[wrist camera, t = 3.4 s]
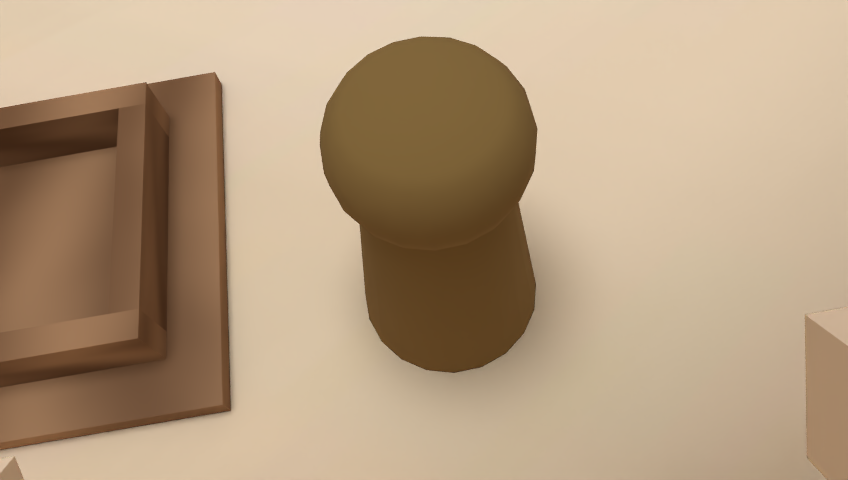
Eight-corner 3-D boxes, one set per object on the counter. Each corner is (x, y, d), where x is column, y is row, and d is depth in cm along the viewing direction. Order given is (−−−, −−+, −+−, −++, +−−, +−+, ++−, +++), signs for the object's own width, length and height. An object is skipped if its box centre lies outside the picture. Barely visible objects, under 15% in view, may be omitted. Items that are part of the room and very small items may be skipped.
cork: (427, 187, 28) (389, -38, 18) (567, 264, 26) (611, 59, 16) (331, 314, 26) (231, 138, 16) (476, 407, 24) (462, 271, 14)
